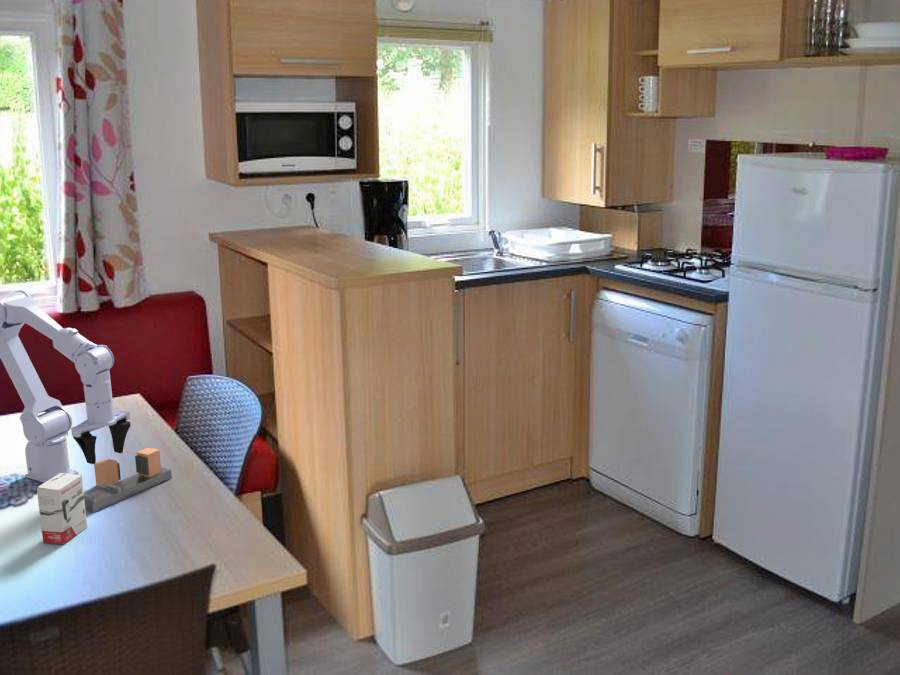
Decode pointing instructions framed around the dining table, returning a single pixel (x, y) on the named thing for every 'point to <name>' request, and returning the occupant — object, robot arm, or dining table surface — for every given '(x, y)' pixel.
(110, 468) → the tan block with backing
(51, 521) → the ink box
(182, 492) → the dining table surface
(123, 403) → the dining table surface
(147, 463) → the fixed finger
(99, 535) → the dining table surface
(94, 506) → the rail
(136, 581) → the dining table surface
